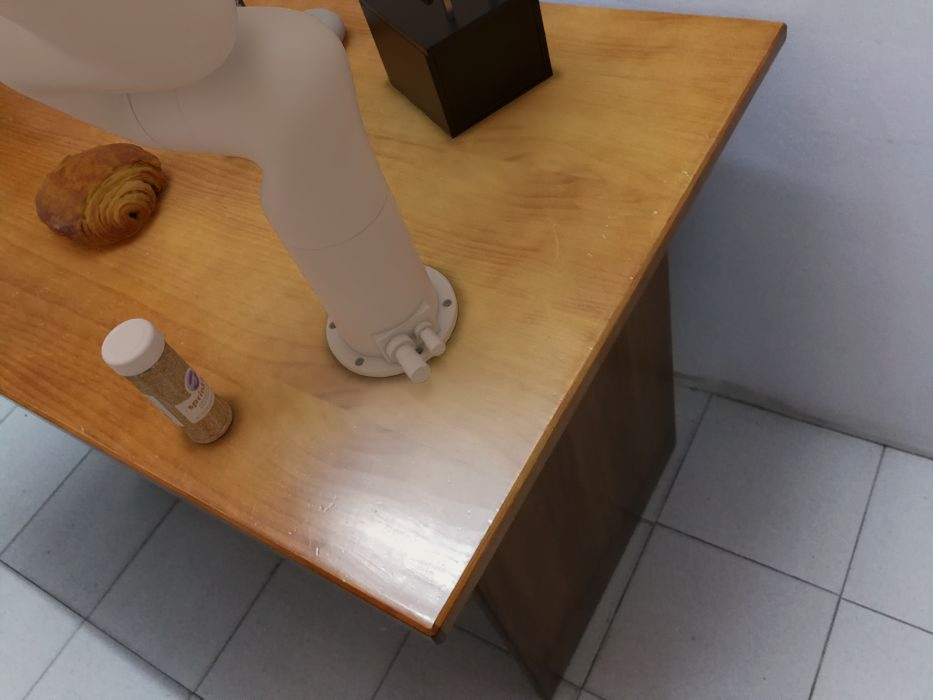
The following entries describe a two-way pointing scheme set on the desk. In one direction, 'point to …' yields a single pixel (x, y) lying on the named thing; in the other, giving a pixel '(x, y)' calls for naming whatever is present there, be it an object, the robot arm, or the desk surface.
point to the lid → (435, 19)
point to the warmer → (468, 66)
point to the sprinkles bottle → (166, 380)
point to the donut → (329, 20)
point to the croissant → (101, 193)
